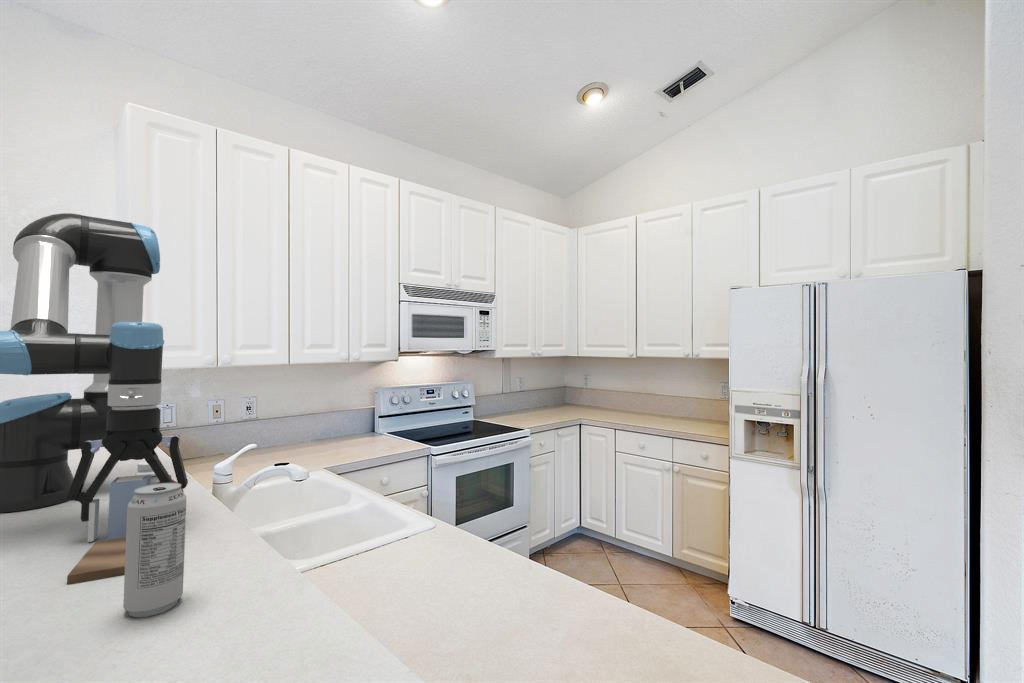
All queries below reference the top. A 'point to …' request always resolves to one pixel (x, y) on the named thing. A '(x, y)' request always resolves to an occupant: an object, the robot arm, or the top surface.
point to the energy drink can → (154, 549)
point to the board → (100, 561)
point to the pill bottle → (147, 472)
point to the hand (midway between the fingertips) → (129, 533)
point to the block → (122, 502)
